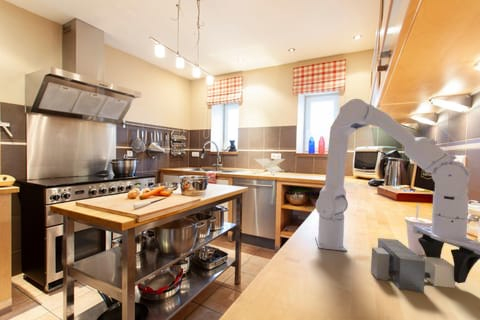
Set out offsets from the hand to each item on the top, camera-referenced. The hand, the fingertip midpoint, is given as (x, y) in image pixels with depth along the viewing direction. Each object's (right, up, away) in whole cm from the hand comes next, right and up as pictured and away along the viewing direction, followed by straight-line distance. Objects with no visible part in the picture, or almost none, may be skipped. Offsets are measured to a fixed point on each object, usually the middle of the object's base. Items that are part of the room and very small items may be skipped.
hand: (446, 275), depth 50 cm
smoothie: (+5, -1, +15) cm, 16 cm away
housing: (-9, -1, +2) cm, 10 cm away
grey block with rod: (-7, -1, +1) cm, 7 cm away
